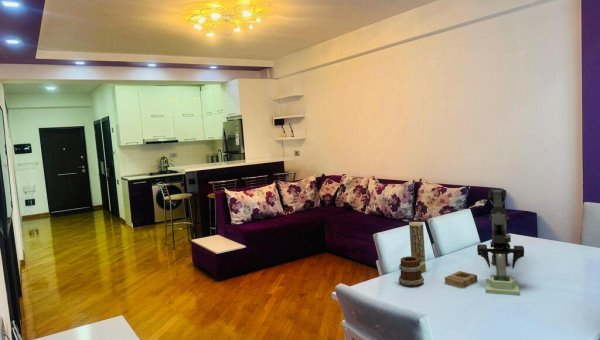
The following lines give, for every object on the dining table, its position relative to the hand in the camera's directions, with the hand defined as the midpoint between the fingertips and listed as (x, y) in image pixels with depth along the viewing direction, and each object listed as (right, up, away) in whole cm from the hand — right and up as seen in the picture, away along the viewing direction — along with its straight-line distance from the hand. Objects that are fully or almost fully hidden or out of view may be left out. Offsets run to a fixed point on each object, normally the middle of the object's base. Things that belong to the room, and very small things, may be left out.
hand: (501, 268), depth 178 cm
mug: (-34, -11, +18) cm, 40 cm away
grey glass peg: (+1, -8, +2) cm, 8 cm away
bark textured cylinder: (-26, -10, +32) cm, 43 cm away
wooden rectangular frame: (-13, -10, +12) cm, 20 cm away
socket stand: (+1, -9, +2) cm, 10 cm away
